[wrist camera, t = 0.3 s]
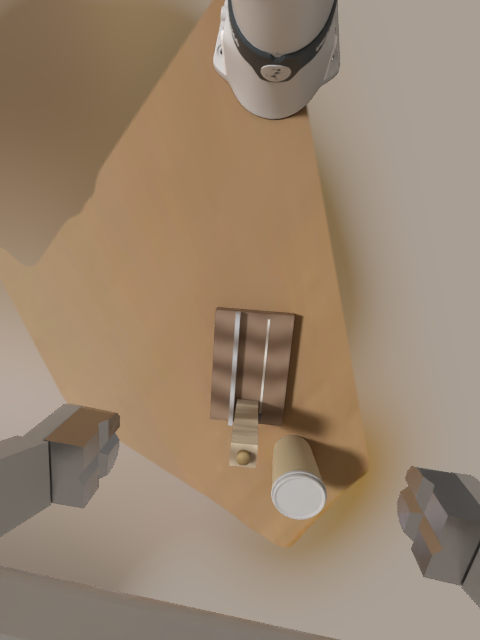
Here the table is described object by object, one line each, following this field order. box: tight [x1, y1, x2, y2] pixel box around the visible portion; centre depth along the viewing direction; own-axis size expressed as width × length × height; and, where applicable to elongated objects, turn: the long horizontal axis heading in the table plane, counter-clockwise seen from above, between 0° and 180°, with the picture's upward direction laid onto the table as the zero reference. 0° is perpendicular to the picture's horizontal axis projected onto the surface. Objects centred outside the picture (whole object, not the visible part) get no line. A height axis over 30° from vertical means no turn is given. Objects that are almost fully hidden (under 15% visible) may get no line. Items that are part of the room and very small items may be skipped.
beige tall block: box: [230, 399, 261, 468], centre depth 52 cm, size 4×5×14 cm
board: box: [210, 307, 295, 426], centre depth 57 cm, size 22×14×4 cm, turn 176°
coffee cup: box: [271, 435, 327, 519], centre depth 58 cm, size 9×9×12 cm
